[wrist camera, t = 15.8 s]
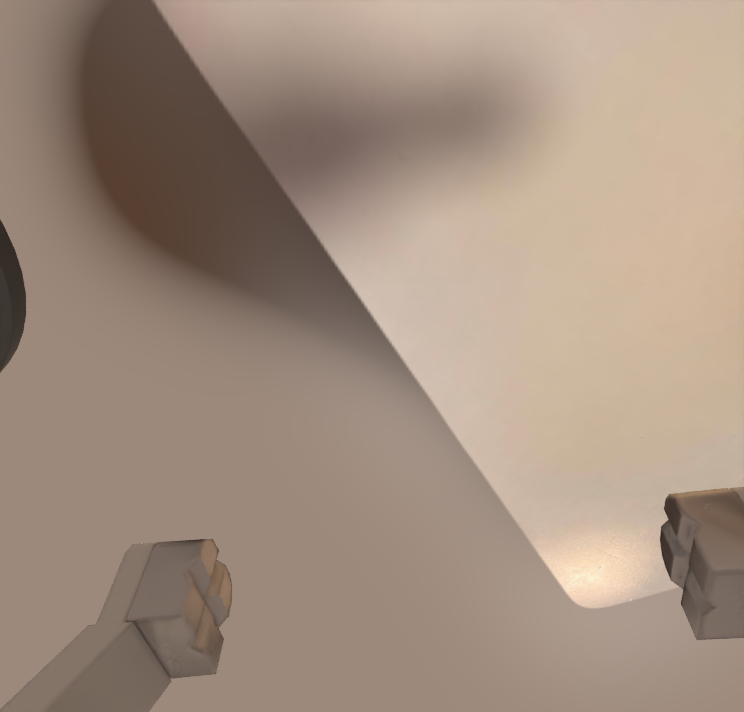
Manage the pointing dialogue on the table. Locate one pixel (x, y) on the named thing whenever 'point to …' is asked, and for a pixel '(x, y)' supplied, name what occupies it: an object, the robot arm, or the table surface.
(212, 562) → the robot arm
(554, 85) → the table surface
